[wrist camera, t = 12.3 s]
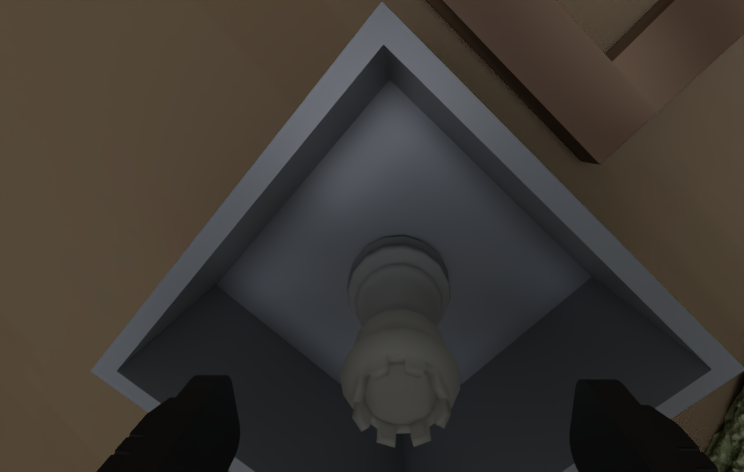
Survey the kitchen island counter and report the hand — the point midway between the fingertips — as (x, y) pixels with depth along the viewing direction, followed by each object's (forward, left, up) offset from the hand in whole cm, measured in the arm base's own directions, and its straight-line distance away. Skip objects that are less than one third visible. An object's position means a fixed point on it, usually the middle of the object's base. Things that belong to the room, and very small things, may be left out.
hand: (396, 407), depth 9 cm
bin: (0, 0, -9) cm, 9 cm away
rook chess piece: (0, 0, -9) cm, 9 cm away
